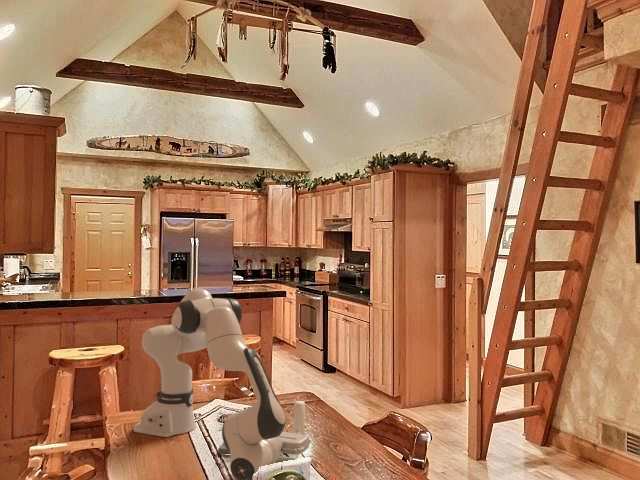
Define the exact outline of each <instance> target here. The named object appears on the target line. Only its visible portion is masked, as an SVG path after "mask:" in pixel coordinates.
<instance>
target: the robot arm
mask: <svg viewBox="0 0 640 480" xmlns="http://www.w3.org/2000/svg"><path fill="white" fill-rule="evenodd" d="M242 319H243V311H242V306H241V304H240V302H239V301H237V300H236V299H235V298H229V297H228V298H227V297H223V298H222V297H221V298H218V297H217V298H216V297H215V298H213V297H212V295H211V293H210V292H209V291H208V290H206V289H204V288H201V287H200V288H199V287H198V288H193V289H191V290H190V291H188V292H187V293H186V294H185V295H184V297H183V298H182V299H181V301H180V302H179V303H178V304H177V305H176V306H175V310H174V313H173V315H172V317H171V324H164V325H163V324H162V325H161V324H160V325H157V326H153V327H150V328H147V329H146V330H145V331H144V333H143V335H142V338H141V346H142V349H143V351H144V352H145V353H146V354H147V355H149V356H150V357H151V358H153V359H154V360H155V361H156V363H157V365H158V367H159V369H160V377H161V378H160V379H161V388H160V390H159V391H157V393H155V394H154V395H155V396H154V398H156V400H155V401H154V402H153V403H151V405H149V406H147V407H146V408H145V409H144V410H143V411H142V413H141V416H140V421H138V422H137V423H136V424H135V425H134V427H133V430H132V431H133V432H134V433H139V434H145V435H150V436H158V437H163V438H168V437H171V436H175V435H180V434H185V433H189V432H190V431H194V430H195V428H196V427H197V424H196V420H195V417H194V416H195V415H194V409H193V408H194V407H193V404H194V388H193V370H192V368H191V366H190V365H189V364H187V363H185V362H183V361H180V360H179V359H178V355H179V354H186V353H196V352H198V351H201V350H205V349H207V355H208V358H209V360H210V362H211V364H212V365H213V366H215V367H216V368H218V369H220V370H223V371H232V372H236V371H237V372H238V371H239V372H244V373H245V375H247V377H248V380H249V382H250V384H251V387H252V390H253V392H254V395H255V397H256V403H255V404H254V405H252V406H250V407H247V408H245V409H241V410H239V411H236V412H234V413H232V414H229V415H228V416H226V418H225V419H224V422H223V425H222V428H221V429H222V430H221V437H222V440H223V442H224V444H225V446H226V448H227V449H228V451H229V452H230V453H231V455H230V461H229V470H230V473H231V476H233V477H234V478H235V479H236V480H252V476H253V474H254V473H256V472H257V471H258V469H259V467H261V466H265V465H270V464H273V465H274V464H275V463H276V462H278V461H277V460H278V459H279V458H280V456H282V455H283V454H287V455H293V456H294V455H298V454H299V455H301V454H303V453H304V452H306V451H307V450H308V449H309V448H310V444H309V440H310V437H309V435H308V434H305V435H303V434H302V431H296V432H295V433H294V432H288V431H284V429H285V427H286V423H287V416H286V413H285V411H284V408H283V406H282V404H281V403H280V401H279V399H278V397H277V396H276V393H275V391H274V388H273V386H272V383H271V381H270V379H269V376H268V374H267V371H266V369H265V367H264V365H263V363H262V361H261V358H260V356H259V354H258V353H257V352H256V350H255V349H253V348H252V347H251V348H250V347H248V346H247V344H246V343H245V340H244V335H243V333H242V329H241V326H240V324H241V322H242Z"/></svg>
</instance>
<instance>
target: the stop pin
mask: <svg viewBox="0 0 640 480" xmlns="http://www.w3.org/2000/svg"><path fill="white" fill-rule="evenodd" d="M293 405H294V408H293V410H294V414H293V415H294V416H293V420H294V421H293V422H294V423H293V426H294V427H293V433H295V432H296V431H302V434H303V435H306V434H305V433H306V430H305V427H306V425H305V423H306V406H305V405H306V402H305V401H302V400H296V401H294V404H293Z"/></svg>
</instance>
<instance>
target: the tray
mask: <svg viewBox="0 0 640 480" xmlns="http://www.w3.org/2000/svg"><path fill="white" fill-rule="evenodd" d="M299 455H300V454H298V455H293V456H282V455H281V456H280V458H279V459H278V460H277V461H276V462H282V461H288V460H295V459H297V460H298V458H299Z"/></svg>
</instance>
